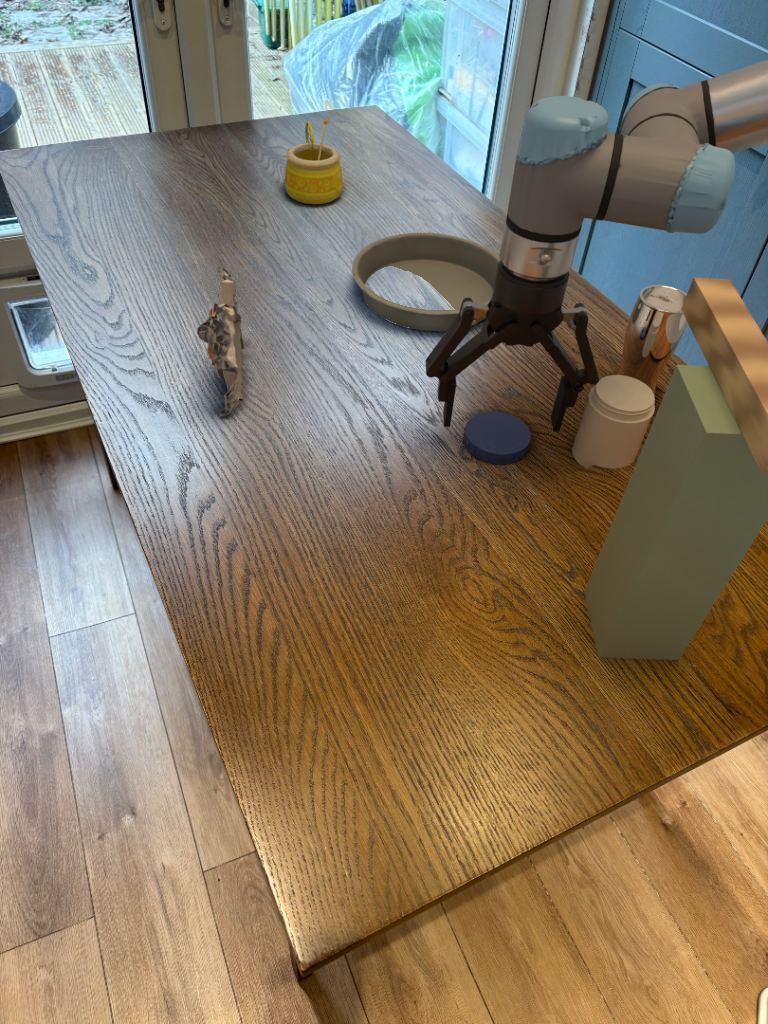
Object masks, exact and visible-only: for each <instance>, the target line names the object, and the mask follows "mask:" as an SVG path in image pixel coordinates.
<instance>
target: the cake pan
mask: <svg viewBox="0 0 768 1024" xmlns="http://www.w3.org/2000/svg"><path fill="white" fill-rule="evenodd" d="M499 261H500V256H498V255H497V254H496V253H495V252H493V251H492V250H490V249H489V248H487V247H485V246H483V245H481V244H480V243H477V242H475V241H472V240H469V239H466V238H463V237H459V236H456V235H451V234H445V233H438V232H437V233H436V232H408V233H400V234H395V235H390V236H386V237H383V238H380V239H378V240H376V241H373V242H371V243H370V244H368V245H366V246H365V247H363V248H362V249H361V250H360V251H359V252H358V253H357V254H356V256H355V257H354V259H353V262H352V265H351V272H352V276H353V278H354V281H355V283H356V284H357V286H358V287H359V288H360V289H361V292H362V296H363V299H364V302H365V301H366V302H365V303H366V305H367V304H368V305H367V306H368V307H369V309H370V308H371V309H372V310H373V311H374V312H373V311H372V310H371V309H370V310H371V311H372V312H373V313H375V312H376V313H377V314H378V315H377V314H376V313H375V314H376V315H377V316H379V315H380V316H381V317H380V316H379V317H380V318H382V317H383V318H385V319H387V320H389V321H391V322H393V323H392V324H394V323H396V324H398V325H397V326H399V325H401V326H400V327H402V326H405V327H404V328H406V327H409V328H408V329H410V328H413V329H412V330H414V329H419V330H418V331H421V330H425V331H424V332H432V331H442V332H446V331H447V330H448V328H449V327H450V326H451V324H452V323H453V322H454V320H455V319H456V317H457V316H458V315H459V311H460V307H461V304H462V301H463V299H464V298H471V299H472V300H473V303H476V304H483V305H487V304H488V303H489V302H490V300H491V298H492V295H493V290H494V284H495V278H496V273H497V267H498V263H499ZM388 266H394V267H397V268H399V269H402V270H404V271H409V272H412V273H413V274H415V275H418V276H420V277H422V278H423V279H424V280H426V281H427V282H429V283H430V284H431V285H432V286H433V287H434V288H435V289H436V290H437V291H438V292H439V293H440V294H441V295H442V296H443V297H444V298H445V299H446V300H447V301H448V302H449V303H450V304H451V306H452V307H453V308H454V309H455V310H425V309H417V308H412V307H407V306H403V305H400V304H396V303H393V302H391V301H388V300H386V299H384V298H382V297H380V296H378V295H377V294H375V293H374V292H372V291H371V290H370V289H368V288H367V287H366V286H365V283H366V281H367V280H368V278H369V277H370V276H371V275H372V274H374V273H375V272H376V271H378V270H380V269H382V268H384V267H388ZM383 318H382V319H383ZM385 319H384V320H385ZM387 320H386V321H387ZM482 320H483V321H484V320H486V317H483V318H480V319H479V321H478V322H477V323H476V325H477V324H479V323H481V322H483V321H482ZM389 321H388V322H389ZM480 321H481V322H480ZM391 322H390V323H391ZM396 324H395V325H396ZM471 327H473V326H472V325H471Z"/></svg>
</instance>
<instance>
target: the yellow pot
mask: <svg viewBox="0 0 768 1024" xmlns="http://www.w3.org/2000/svg"><path fill="white" fill-rule="evenodd" d="M322 121H323V130H322V135H321V141H320V143H319V142H315V138H314V132H313V127H312V123H311V122H310V121H306V122H305V125H304V126H305V128H304V135H305V136H304V137H305V143H304V142H303V143H299V144H297V145H294V146H292V147H290V149H288V150H287V151H286V155H285V156H286V163H285V174H284V188H285V191H286V193H287V194H288V196H289V197H290V198H292V199H293V200H295V201H296V202H297V203H298V202H299V203H303V204H307V205H321V204H323V205H324V204H327V203H331V202H333V201H335V200H336V199H338V198H339V197H340V195H341V193H342V191H343V186H344V183H343V181H344V179H343V172H342V171H343V170H342V166H341V162H340V160H341V155H340V153H339V151H337V149H336V148H334V147H332V146H330V145H327V144H323V143H324V137H325V132H326V128H327V127H326V126H327V124H328V123H329V121H328V118H324V119H323V120H322Z"/></svg>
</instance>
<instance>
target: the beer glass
mask: <svg viewBox="0 0 768 1024" xmlns="http://www.w3.org/2000/svg"><path fill="white" fill-rule="evenodd" d="M686 296H687V292H685V291H683V290H681V289H679V288H677V287H675V286H670V285H666V284H665V285H664V284H649V285H647V286H645V287H643V288H642V289H641V290H640V291H639V294H638V297H637V299H636V301H635V304H634V306H633V308H632V311H631V313H630V316H629V319H628V322H627V325H626V329H625V333H624V338H623V345H622V354H621V360H620V365H619V369H618V371H617V373H616V375H623V376H628V377H632V378H635V379H637V380H639V381H641V382H643V383H645V384H646V385H647V386H648V387H649V388H650V389H651V390H652V392H653V394H654V396H655V394H656V390H657V389H656V388H657V384H658V380H659V379H660V376H661V375H662V373H663V371H664V370H665V367H667V364H669V361H670V360H671V358H672V357H673V355H674V353H675V352H676V350H677V349H678V347H679V344H680V342H681V340H682V338H683V336H684V333H685V330H686V327H687V325H688V322H687V320H686V318H685V316H684V314H683V312H682V310H681V309H682V306H683V303H684V301H685V298H686Z"/></svg>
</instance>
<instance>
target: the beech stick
mask: <svg viewBox="0 0 768 1024" xmlns="http://www.w3.org/2000/svg"><path fill="white" fill-rule="evenodd" d="M686 294H687V296H686V298H685V301H684V303H683V306H682V309H681V310H682V312H683V314H684V316H685V318H686V320H687V325H688V327H689V329H690V331H691V332H692V334H693V336H694V339H695V341H696V342H697V345H698V346H699V349H700V351H701V353H702V355H703V357H704V359H705V361H706V363H707V366H709V367H710V369H711V371H712V373H713V375H714V377H715V379H716V381H717V383H718V386H719V388H720V390H721V392H722V394H723V396H724V398H725V400H726V402H727V404H728V406H729V408H730V410H731V412H732V414H733V416H734V418H735V420H736V422H737V424H738V426H739V428H740V430H741V432H742V434H743V437H744V439H745V441H746V443H747V445H748V447H749V449H750V451H751V453H752V455H753V457H754V459H755V461H756V463H757V465H758V467H759V469H760V471H761V473H762V474H768V340H767V339H766V337H765V335H764V334H763V332H762V330H761V328H760V327H759V326H758V324H757V322H756V321H755V319H754V317H753V315H752V314H751V312H750V310H749V309H748V307H747V306H746V304H745V302H744V301H743V299H742V298H741V296H740V294H739V292H738V290H737V289H736V287H735V286H734V283H733V282H732V280H731V279H730V278H719V277H718V278H717V277H715V278H714V277H698V276H697V277H696V276H693V278H692V281H691V283H690V286H689V288H688V291H687V292H686Z"/></svg>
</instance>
